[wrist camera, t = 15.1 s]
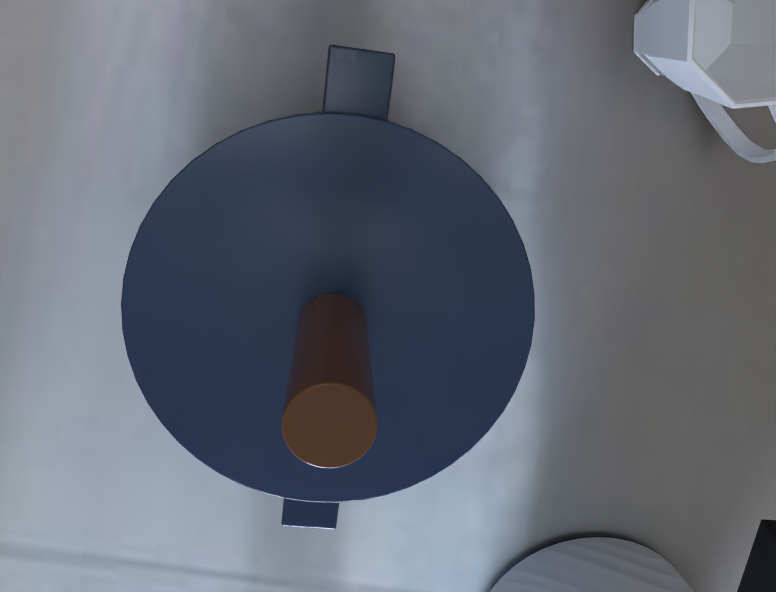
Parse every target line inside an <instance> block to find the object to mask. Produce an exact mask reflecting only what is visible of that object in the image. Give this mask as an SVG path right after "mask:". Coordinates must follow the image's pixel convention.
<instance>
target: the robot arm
mask: <svg viewBox="0 0 776 592" xmlns="http://www.w3.org/2000/svg"><path fill="white" fill-rule="evenodd" d="M737 592H776V520H762V519H761V522H760V525H759V528H758V531H757V534H756V537H755V540H754V543H753V546H752V549H751V552H750V555H749V558H748V561H747V564H746V567H745V570H744V573H743V576H742V579H741V582H740V585H739V588H738V591H737Z"/></svg>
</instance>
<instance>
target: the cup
mask: <svg viewBox="0 0 776 592" xmlns="http://www.w3.org/2000/svg"><path fill="white" fill-rule="evenodd" d="M634 53H635V54H636V55H637V56H638V57H639V58H640V59H641V60H642V61H643V62H644V63H645V64H646V65H647V66H648V67H649V68H650V69H651V70H652V71H653V72H654V73H655V74H656V75H657V76H660V75H665V76H666V77H667V78H668V79H670V80H671V81H672V82H674V83H675V84H676V85H678V86H679V87H680V88H682V89H683V90H686V91H689V92H691V94H692V96H693V97H694V99H695V101H696V102H697V104H698V106H699V107H700V109H701V110H702V112H703V113H704V114H705V116H706V117H707V119H708V120H709V121H710V123H711V124H712V126H713V127H714V128H715V130H716V131H717V132H718V134H719V135H720V136H721V138H722V139H723V140H724V141H725V142H726V143H727V144H728V145H729V146H730V147H731V149H732V150H733V151H734V152H735V153H736V154H737V155H739V156H741V157H743V158H744V159H746V160H748V161H750V162H754V163H767V162H770V161H774V160H776V149H763V148H762V147H760V146H758V145H756V144H754V143H753V142H751V141H750V140H749V139H748V138H747V137H746V136H745V135H744V134H743V132H742V131H741V130H740V129H739V128H738V127H737V126H736V124H735V123H734V122H733V120H732V119H731V118H730V117H729V115H728V114H727V113H726V111H725V110H724V109H723V107H722V106H721V105H724V106H727V107H729V108H732V109H736V108H746V107H757V106H767V105H768V107H769V109H770V111H771V113H772V116H773V118H774V120H775V123H776V0H647V1H646V2H645V3H644V5H643V6H642V7H641V8H640V9H639V10H638V11H637V13H636V14H635V15H634ZM720 104H721V105H720Z"/></svg>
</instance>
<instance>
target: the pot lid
mask: <svg viewBox="0 0 776 592" xmlns="http://www.w3.org/2000/svg"><path fill="white" fill-rule="evenodd" d="M121 311H122V330H123V335H124V340H125V345H126V350H127V355H128V358H129V361H130V364H131V367H132V370H133V373H134V376H135V379H136V381H137V383H138V385H139V387H140V389H141V391H142V393H143V395H144V397H145V399H146V401H147V403H148V404H149V406H150V407H151V409H152V410H153V411H154V413H155V414H156V416H157V417H158V419H159V420H160V422H161V423H162V424H163V425H164V427H165V428H166V429H167V430H168V431H169V432H170V433H171V434H172V436H173V437H174V438H175V439H176V440H177V441H178V442H179V443H180V444H181V445H182V446H183V447H184V448H186V449H187V450H188V451H189V452H190V453H191V454H192V455H194V456H195V457H196V458H197V459H198V460H200V461H201V462H203V463H204V464H206V465H207V466H209V467H210V468H212V469H213V470H215V471H216V472H218V473H219V474H221V475H223V476H225V477H227V478H229V479H231V480H233V481H235V482H237V483H239V484H241V485H244V486H246V487H249V488H252V489H254V490H257V491H260V492H262V493H266V494H270V495H274V496H278V497H282V498H286V499H292V500H300V501H307V502H333V503H338V502H348V501H358V500H365V499H370V498H374V497H379V496H384V495H387V494H390V493H393V492H396V491H399V490H402V489H405V488H408V487H411V486H413V485H415V484H417V483H419V482H421V481H424V480H426V479H428V478H430V477H432V476H433V475H435V474H437V473H438V472H440V471H442V470H443V469H445V468H446V467H448V466H450V465H451V464H453V463H454V462H455V461H456V460H458V459H459V458H460V457H461V456H463V455H464V454H465V453H466V452H468V451H469V450H470V449H471V448H472V447H473V446H474V445H475V444H476V443H477V442H478V441H479V440H480V439H481V438H482V437H483V436H484V435H485V434H486V433H487V432H488V431H489V430H490V428H491V427H492V426H493V424H494V423H495V422H496V420H497V419H498V418H499V417H500V415H501V414H502V413H503V411H504V409H505V408H506V406H507V404H508V402H509V401H510V399H511V397H512V396H513V394H514V392H515V390H516V388H517V385H518V383H519V381H520V378H521V376H522V374H523V371H524V369H525V365H526V362H527V358H528V355H529V351H530V347H531V343H532V335H533V328H534V320H535V305H534V288H533V281H532V274H531V268H530V265H529V261H528V258H527V254H526V251H525V247H524V244H523V242H522V240H521V237H520V235H519V233H518V231H517V228H516V226H515V224H514V222H513V220H512V218H511V217H510V215H509V213H508V212H507V210H506V209H505V207H504V205H503V204H502V202H501V200H500V199H499V198H498V196H497V195H496V194H495V193H494V192H493V190H492V189H491V188H490V187H489V185H488V184H487V183H486V182H485V181H484V179H483V178H482V177H481V176H480V175H479V174H477V173H476V172H475V171H474V170H473V169H472V168H471V167H470V166H469V165H468V164H467V163H465V162H464V161H463V160H462V159H461V158H460V157H458V156H457V155H455V154H454V153H452V152H451V151H449V150H448V149H446V148H445V147H444V146H442V145H441V144H439V143H438V142H436V141H434V140H432V139H430V138H428V137H426V136H424V135H422V134H420V133H418V132H416V131H414V130H412V129H410V128H407V127H404V126H401V125H399V124H396V123H393V122H390V121H387V120H384V119H379V118H374V117H369V116H364V115H359V114H350V113H334V112H321V113H307V114H296V115H292V116H287V117H282V118H277V119H273V120H269V121H266V122H263V123H260V124H257V125H255V126H252V127H249V128H246V129H243V130H241V131H239V132H237V133H235V134H234V135H232V136H230V137H228V138H226V139H224V140H222V141H220V142H218V143H216V144H215V145H213V146H212V147H210V148H209V149H208V150H206V151H205V152H203V153H202V154H201V155H199V156H198V157H196V158H195V159H194V160H192V161H191V162H190V163H189V164H188V165H187V166H186V167H185V168H184V169H183V170H181V171H180V172H179V173H178V174H177V175H176V176H175V177H174V178H173V179H172V180H171V181H170V182H169V184H168V185H167V186H166V187H165V189H164V190H163V191H162V192H161V194H160V195H159V196H158V198H157V199H156V200H155V201H154V203H153V204H152V206H151V208H150V210H149V211H148V213H147V215H146V217H145V218H144V220H143V222H142V223H141V225H140V227H139V230H138V232H137V235H136V237H135V240H134V242H133V245H132V247H131V250H130V253H129V257H128V261H127V265H126V269H125V274H124V278H123V289H122V300H121Z"/></svg>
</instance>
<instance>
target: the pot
mask: <svg viewBox="0 0 776 592" xmlns="http://www.w3.org/2000/svg"><path fill="white" fill-rule="evenodd" d="M395 57H396V56H395V54H393V53H386V52H379V51H372V50H365V49H358V48H351V47H344V46H337V45H330V46H329V50H328V60H327V70H326V80H325V90H324V100H323V110H322V111H321V112H334V113H350V114H359V115H364V116H369V117H374V118H379V119H384V120H387V121H388V113H389V105H390V97H391V89H392V81H393V73H394V65H395ZM321 112H315V113H321ZM338 508H339V502H338V503H333V502H307V501H300V500H292V499H286V498H284V503H283V513H282V525H283V526H293V527H308V528H322V529H335V528H336V524H337V516H338Z"/></svg>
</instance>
